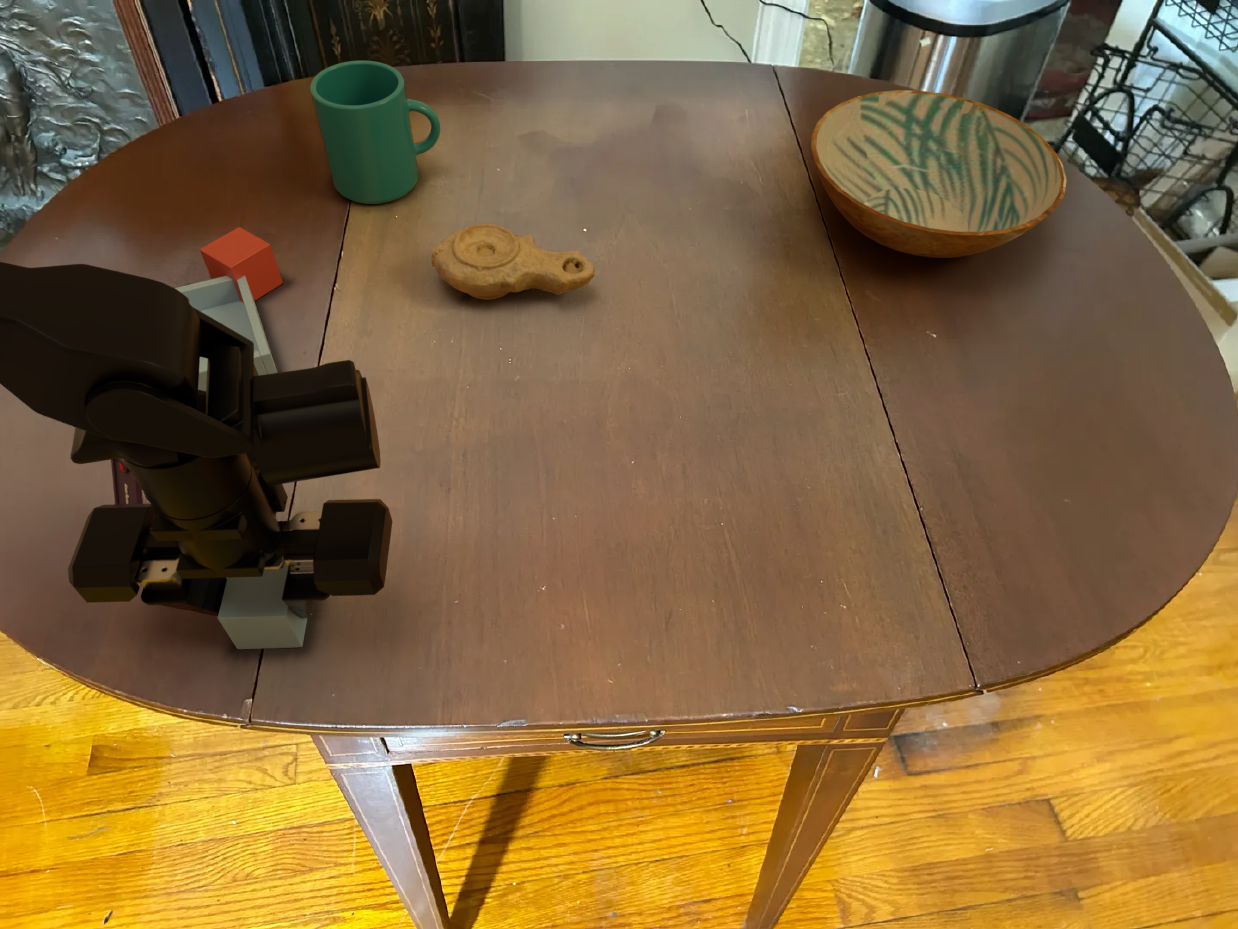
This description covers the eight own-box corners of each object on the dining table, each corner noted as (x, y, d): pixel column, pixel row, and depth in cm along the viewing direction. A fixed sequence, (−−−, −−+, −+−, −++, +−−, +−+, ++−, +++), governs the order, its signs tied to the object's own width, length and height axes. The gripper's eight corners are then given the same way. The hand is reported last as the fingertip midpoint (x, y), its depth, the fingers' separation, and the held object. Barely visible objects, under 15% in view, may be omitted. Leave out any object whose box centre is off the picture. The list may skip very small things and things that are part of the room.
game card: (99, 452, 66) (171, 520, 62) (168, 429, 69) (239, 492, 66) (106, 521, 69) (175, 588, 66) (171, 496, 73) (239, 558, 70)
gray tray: (114, 424, 76) (99, 399, 73) (99, 335, 82) (85, 309, 80) (279, 378, 80) (270, 353, 77) (253, 296, 86) (243, 271, 84)
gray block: (237, 649, 64) (217, 618, 60) (249, 593, 66) (231, 560, 63) (302, 647, 64) (286, 616, 60) (312, 591, 67) (297, 558, 63)
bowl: (750, 190, 99) (761, 124, 93) (924, 133, 108) (945, 68, 101) (901, 332, 86) (926, 265, 80) (1086, 254, 94) (1122, 188, 88)
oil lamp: (598, 306, 87) (599, 265, 83) (451, 336, 84) (445, 294, 80) (566, 239, 93) (566, 197, 89) (428, 264, 90) (421, 222, 86)
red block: (245, 306, 85) (230, 267, 82) (215, 288, 87) (199, 249, 83) (283, 282, 87) (270, 243, 84) (253, 265, 89) (239, 226, 86)
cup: (451, 198, 97) (439, 99, 88) (336, 211, 95) (311, 112, 86) (441, 150, 102) (428, 53, 93) (331, 162, 100) (308, 63, 91)
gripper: (380, 375, 58) (415, 516, 70) (76, 379, 57) (166, 522, 69) (358, 519, 51) (401, 648, 63) (12, 527, 50) (124, 657, 62)
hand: (272, 613), depth 64 cm, fingers closed on gray block, 4 cm apart
